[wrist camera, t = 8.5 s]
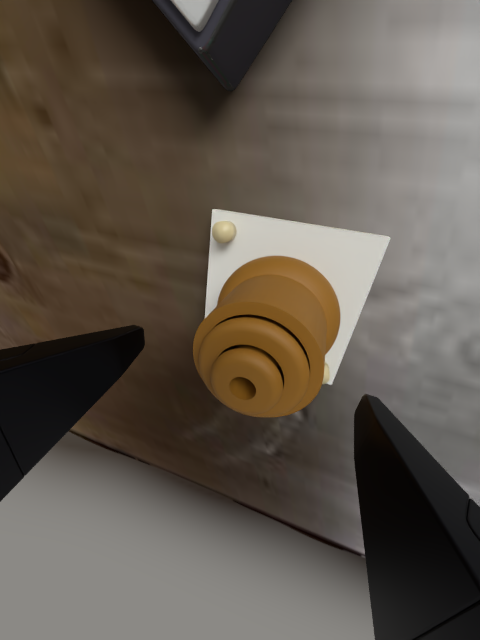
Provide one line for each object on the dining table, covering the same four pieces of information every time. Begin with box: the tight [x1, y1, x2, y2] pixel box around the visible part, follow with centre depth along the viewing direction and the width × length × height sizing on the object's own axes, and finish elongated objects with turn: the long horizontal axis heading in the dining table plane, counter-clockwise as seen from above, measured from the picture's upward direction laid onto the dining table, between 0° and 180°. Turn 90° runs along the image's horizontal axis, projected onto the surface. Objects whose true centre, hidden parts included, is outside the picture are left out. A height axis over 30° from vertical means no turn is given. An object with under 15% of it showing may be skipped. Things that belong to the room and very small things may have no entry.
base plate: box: [205, 209, 391, 385], centre depth 15 cm, size 10×10×2 cm
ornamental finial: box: [193, 256, 341, 417], centre depth 12 cm, size 8×8×8 cm
